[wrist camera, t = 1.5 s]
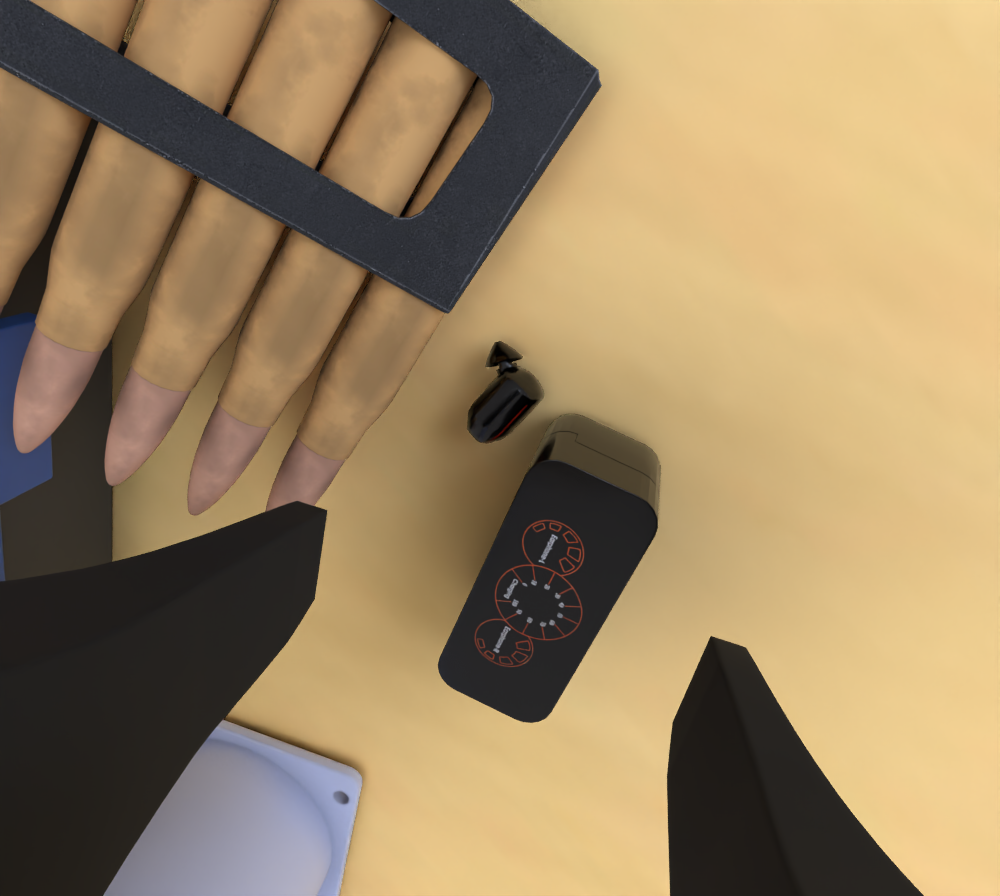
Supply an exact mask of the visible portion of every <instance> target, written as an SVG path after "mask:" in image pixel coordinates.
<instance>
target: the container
mask: <svg viewBox="0 0 1000 896" xmlns="http://www.w3.org/2000/svg"><path fill="white" fill-rule="evenodd" d="M98 123H99V122H98V121H96V120H94V119H92V118H91V121H90V123H89V126H88V128H87V131H86V134H85V136H84V139H83V141H82V144H81V146H80V149H79V151H78V154H77V157H76V159H75V162H74V164H73V167H72V169H71V172H70V174H69V177H68V180H67V182H66V185H65V187H64V190H63V192H62V195H61V197H60V200H59V203H58V205H57V208H56V210H55V213H54V215H53V218H52V220H51V223H50V225H49V227H48V230H47V232H46V234H45V236H44V238H43V239H42V241H41V242H40V244H39V245H38V247H37V248H36V250H35V251H34V253H33V254H32V256H31V257H30V258H29V260H28V261H27V263H26V264H25V266H24V267H23V268H22V270H21V273H20V275H19V277H18V279H17V282H16V284H15V286H14V288H13V291H12V293H11V295H10V297H9V300H8V302H7V303H6V305H4V307H3V309H2V312H1V314H0V581H7V580H16V579H23V578H29V577H35V576H41V575H47V574H53V573H59V572H65V571H71V570H77V569H82V568H87V567H92V566H97V565H101V564H105V563H109V562H112V486H111V485H109V484H108V482H107V480H106V475H105V461H104V459H105V451H106V442H107V437H108V432H109V427H110V422H111V418H112V338H111V340H110V342H109V344H108V346H107V348H105V349H104V350H103V352H102V354H101V356H100V359H99V361H98V363H97V365H96V367H95V369H94V372H93V374H92V376H91V378H90V380H89V382H88V384H87V385H86V387H85V389H84V390H83V392H82V394H81V395H80V397H79V399H78V400H77V402H76V404H75V405H74V407H73V408H72V410H71V411H70V412H69V414H68V415H67V416H66V418H65V419H64V420H63V422H62V423H61V424H60V425H59V426H58V427H57V429H56V430H55V431H54V432H53V433H52V434H51V435H50V437H48V438H47V439H46V440H45V441H44V442H43V443H42V444H40V445H39V446H38V447H36V448H35V449H34V450H32V451H31V452H29V453H21V452H19V450H18V449H17V446H16V443H15V438H14V431H13V412H14V400H15V393H16V387H17V383H18V378H19V374H20V370H21V366H22V362H23V358H24V356H25V353H26V350H27V347H28V345H29V342H30V339H31V337H32V334H33V331H34V329H35V326H36V324H35V320H36V317H37V314H38V311H39V308H40V305H41V302H42V299H43V296H44V293H45V289H46V285H47V277H48V269H49V261H50V254H51V248H52V245H53V242H54V239H55V236H56V233H57V231H58V228H59V225H60V223H61V220H62V217H63V215H64V212H65V210H66V207H67V204H68V202H69V199H70V196H71V194H72V191H73V188H74V186H75V183H76V181H77V178H78V175H79V173H80V170H81V167H82V165H83V162H84V159H85V157H86V154H87V152H88V149H89V146H90V144H91V141H92V138H93V136H94V133H95V130H96V128H97V125H98Z"/></svg>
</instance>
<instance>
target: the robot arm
mask: <svg viewBox="0 0 1000 896" xmlns="http://www.w3.org/2000/svg"><path fill="white" fill-rule="evenodd" d="M326 516H327V510H325V509H321V508H318V507H315V506H312V505H309V504H306V503H303V502H300V501H294V502H291V503H288V504H285V505H282V506H279V507H277V508H274V509H271V510H269V511H266V512H263V513H261V514H258V515H256V516H253V517H250V518H248V519H245V520H243V521H240V522H237V523H234V524H232V525H229V526H226V527H224V528H221V529H218V530H216V531H213V532H210V533H207V534H205V535H202V536H199V537H195V538H192V539H189V540H186V541H183V542H180V543H177V544H174V545H171V546H168V547H164V548H161V549H158V550H155V551H152V552H148V553H145V554H141V555H138V556H134V557H130V558H126V559H122V560H118V561H114V562H109V563H105V564H101V565H97V566H92V567H87V568H82V569H77V570H71V571H65V572H59V573H53V574H47V575H41V576H35V577H29V578H23V579H16V580H7V581H0V896H339V894H340V890H341V885H342V880H343V875H344V870H345V865H346V861H347V856H348V851H349V846H350V841H351V836H352V832H353V827H354V822H355V817H356V812H357V807H358V803H359V798H360V793H361V788H362V777H361V775H360V773H359V772H358V771H357V770H356V769H354V768H352V767H350V766H348V765H345V764H342V763H339V762H337V761H334V760H331V759H329V758H326V757H323V756H320V755H318V754H315V753H312V752H310V751H307V750H304V749H301V748H299V747H296V746H293V745H291V744H288V743H285V742H282V741H280V740H277V739H274V738H272V737H269V736H266V735H264V734H261V733H258V732H255V731H253V730H250V729H247V728H245V727H242V726H239V725H236V724H234V723H231V722H228V721H226V720H223V719H224V718H225V717H226V715H227V714H228V713H229V712H230V711H231V709H232V708H233V707H234V706H235V705H236V704H237V702H238V701H239V700H240V699H241V698H242V696H243V695H244V694H245V693H246V692H247V690H248V689H249V688H250V687H251V686H252V685H253V683H254V682H255V681H256V680H257V679H258V677H259V676H260V675H261V674H262V673H263V671H264V670H265V669H266V668H267V667H268V665H269V664H270V663H271V662H272V661H273V659H274V658H275V657H276V656H277V655H278V653H279V652H280V651H281V650H282V648H283V647H284V646H285V645H286V643H287V642H288V641H289V639H290V638H291V636H292V635H293V633H294V631H295V630H296V628H297V627H298V625H299V624H300V622H301V621H302V619H303V617H304V616H305V614H306V612H307V611H308V609H309V607H310V606H311V604H312V603H313V601H314V599H315V593H316V586H317V579H318V572H319V565H320V558H321V551H322V544H323V537H324V530H325V523H326ZM667 797H668V837H669V872H670V896H924V895H923V894H922V893H921V892H920V891H919V890H918V889H917V888H916V887H915V886H914V885H913V884H912V883H911V882H910V880H909V879H908V878H907V877H906V876H905V875H904V874H903V873H902V872H901V871H900V870H899V868H898V867H897V866H896V865H895V864H894V863H893V862H892V861H891V859H890V858H889V857H888V856H887V855H886V854H885V853H884V851H883V850H882V849H881V848H880V847H879V845H878V844H877V843H876V842H875V840H874V839H873V838H872V837H871V836H870V834H869V833H868V832H867V831H866V829H865V828H864V827H863V826H862V824H861V823H860V822H859V821H858V820H857V818H856V817H855V816H854V815H853V813H852V812H851V811H850V809H849V808H848V807H847V805H846V804H845V803H844V802H843V800H842V799H841V798H840V796H839V795H838V794H837V792H836V791H835V789H834V788H833V786H832V785H831V784H830V782H829V781H828V779H827V778H826V776H825V775H824V774H823V772H822V771H821V769H820V768H819V767H818V765H817V764H816V762H815V761H814V759H813V758H812V756H811V755H810V753H809V752H808V750H807V749H806V747H805V746H804V744H803V743H802V741H801V739H800V738H799V736H798V735H797V733H796V731H795V730H794V728H793V727H792V725H791V723H790V722H789V720H788V719H787V717H786V715H785V714H784V712H783V710H782V709H781V707H780V705H779V704H778V702H777V700H776V698H775V697H774V695H773V693H772V692H771V690H770V688H769V686H768V685H767V683H766V681H765V679H764V678H763V676H762V674H761V672H760V671H759V669H758V667H757V665H756V664H755V662H754V660H753V659H752V657H751V655H750V654H749V652H748V650H747V649H746V647H743V646H740V645H737V644H734V643H731V642H728V641H724V640H721V639H718V638H715V637H712V636H711V637H710V639H709V641H708V644H707V646H706V648H705V650H704V653H703V655H702V657H701V659H700V662H699V664H698V666H697V669H696V671H695V673H694V675H693V678H692V680H691V682H690V684H689V687H688V689H687V691H686V693H685V696H684V698H683V700H682V703H681V705H680V707H679V709H678V712H677V714H676V716H675V718H674V721H673V725H672V734H671V743H670V751H669V762H668V773H667Z"/></svg>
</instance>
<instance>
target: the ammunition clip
mask: <svg viewBox="0 0 1000 896" xmlns="http://www.w3.org/2000/svg"><path fill="white" fill-rule="evenodd" d="M137 1H138V0H0V314H1V312H2V309H3V307H4V305H6V303H7V302H8V300H9V297H10V295H11V293H12V291H13V288H14V286H15V284H16V282H17V279H18V277H19V275H20V273H21V270H22V268H23V267H24V266H25V264H26V263H27V261H28V260H29V258H30V257H31V256H32V254H33V253H34V251H35V250H36V248H37V247H38V245H39V244H40V242H41V241H42V239H43V238H44V236H45V234H46V232H47V230H48V227H49V225H50V223H51V220H52V218H53V215H54V213H55V210H56V208H57V205H58V203H59V200H60V197H61V195H62V192H63V190H64V187H65V185H66V182H67V180H68V177H69V174H70V172H71V169H72V167H73V164H74V162H75V159H76V157H77V154H78V151H79V149H80V146H81V144H82V141H83V139H84V136H85V134H86V131H87V128H88V126H89V123H90V121H91V118H92V119H94V120H96V121H98V122H99V123H98V125H97V128H96V130H95V133H94V136H93V138H92V141H91V144H90V146H89V149H88V152H87V154H86V157H85V159H84V162H83V165H82V167H81V170H80V173H79V175H78V178H77V181H76V183H75V186H74V188H73V191H72V194H71V196H70V199H69V202H68V204H67V207H66V210H65V212H64V215H63V217H62V220H61V223H60V225H59V228H58V231H57V233H56V236H55V239H54V242H53V245H52V248H51V254H50V261H49V269H48V277H47V285H46V289H45V293H44V296H43V299H42V302H41V305H40V308H39V311H38V314H37V317H36V320H35V324H36V326H35V329H34V331H33V334H32V337H31V339H30V342H29V345H28V347H27V350H26V353H25V356H24V358H23V362H22V366H21V370H20V374H19V378H18V383H17V387H16V393H15V400H14V412H13V431H14V438H15V443H16V446H17V449H18V450H19V452H21V453H29V452H31V451H32V450H34V449H35V448H36V447H38V446H39V445H40V444H42V443H43V442H44V441H45V440H46V439H47V438H48V437H50V435H51V434H52V433H53V432H54V431H55V430H56V429H57V427H58V426H59V425H60V424H61V423H62V422H63V420H64V419H65V418H66V416H67V415H68V414H69V412H70V411H71V410H72V408H73V407H74V405H75V404H76V402H77V400H78V399H79V397H80V395H81V394H82V392H83V390H84V389H85V387H86V385H87V384H88V382H89V380H90V378H91V376H92V374H93V372H94V369H95V367H96V365H97V363H98V361H99V359H100V356H101V354H102V352H103V350H104V349H105V348H107V346H108V344H109V342H110V340H111V338H112V336H113V334H114V332H115V330H116V328H117V326H118V324H119V322H120V320H121V318H122V316H123V315H124V313H125V312H126V311H127V309H128V308H129V307H130V306H131V304H132V303H133V302H134V300H135V299H136V298H137V296H138V295H139V294H140V292H141V291H142V289H143V288H144V286H145V284H146V282H147V280H148V279H149V277H150V274H151V272H152V270H153V268H154V265H155V263H156V261H157V259H158V257H159V254H160V252H161V250H162V248H163V245H164V243H165V241H166V239H167V237H168V234H169V232H170V230H171V228H172V225H173V223H174V221H175V219H176V217H177V214H178V212H179V210H180V208H181V205H182V203H183V201H184V199H185V196H186V194H187V192H188V190H189V188H190V185H191V183H192V181H193V179H194V176H195V175H196V176H197V177H199V178H200V179H199V182H198V184H197V186H196V189H195V191H194V193H193V195H192V198H191V200H190V202H189V205H188V207H187V209H186V211H185V214H184V216H183V218H182V221H181V223H180V225H179V227H178V230H177V232H176V234H175V237H174V239H173V241H172V243H171V246H170V248H169V250H168V253H167V255H166V257H165V260H164V262H163V264H162V266H161V269H160V271H159V273H158V276H157V278H156V280H155V283H154V285H153V288H152V291H151V296H150V300H149V305H148V310H147V316H146V321H145V326H144V329H143V331H142V334H141V337H140V339H139V342H138V344H137V347H136V350H135V352H134V355H133V357H132V361H131V367H130V369H129V371H128V374H127V376H126V378H125V381H124V383H123V385H122V388H121V390H120V393H119V395H118V399H117V402H116V405H115V408H114V412H113V415H112V418H111V422H110V427H109V432H108V437H107V442H106V451H105V459H104V461H105V475H106V480H107V482H108V484H109V485H111V486H115V485H118V484H120V483H122V482H123V481H124V480H126V479H127V478H129V477H130V476H131V475H132V474H133V473H134V472H135V471H136V470H138V469H139V467H140V466H141V465H142V464H143V463H144V462H145V461H146V460H147V459H148V458H149V457H150V455H151V454H152V453H153V452H154V450H155V449H156V448H157V447H158V445H159V444H160V443H161V441H162V440H163V438H164V437H165V435H166V434H167V432H168V431H169V429H170V428H171V426H172V425H173V423H174V422H175V420H176V418H177V417H178V415H179V413H180V411H181V409H182V407H183V405H184V403H185V401H186V400H187V398H188V396H189V394H190V392H191V390H192V389H193V388H194V387H195V386H196V384H197V382H198V380H199V378H200V377H201V375H202V373H203V371H204V369H205V368H206V366H207V364H208V362H209V360H210V359H211V357H212V356H213V355H214V353H215V352H216V351H217V350H218V348H219V347H220V346H221V345H222V343H223V342H224V341H225V340H226V339H227V337H228V336H229V335H230V333H231V332H232V331H233V329H234V328H235V326H236V324H237V322H238V321H239V319H240V317H241V315H242V313H243V311H244V309H245V307H246V305H247V303H248V301H249V299H250V297H251V295H252V293H253V291H254V289H255V287H256V285H257V283H258V281H259V279H260V277H261V275H262V273H263V271H264V269H265V267H266V265H267V263H268V261H269V259H270V257H271V255H272V253H273V251H274V249H275V247H276V245H277V243H278V241H279V239H280V237H281V235H282V233H283V231H284V229H285V227H286V226H288V227H290V228H291V229H290V231H289V233H288V235H287V237H286V239H285V241H284V243H283V245H282V247H281V249H280V251H279V253H278V255H277V257H276V260H275V262H274V264H273V266H272V268H271V270H270V272H269V274H268V276H267V278H266V280H265V282H264V284H263V286H262V288H261V290H260V292H259V294H258V296H257V298H256V300H255V302H254V304H253V306H252V308H251V310H250V312H249V314H248V316H247V319H246V321H245V323H244V325H243V327H242V330H241V332H240V335H239V339H238V342H237V346H236V350H235V354H234V358H233V362H232V366H231V369H230V371H229V373H228V376H227V378H226V380H225V382H224V385H223V387H222V389H221V391H220V394H219V396H218V402H217V404H216V406H215V408H214V410H213V412H212V414H211V416H210V418H209V420H208V422H207V425H206V427H205V429H204V432H203V434H202V437H201V440H200V443H199V445H198V448H197V451H196V454H195V458H194V461H193V465H192V469H191V474H190V480H189V486H188V499H187V500H188V511H189V513H190V514H191V515H199V514H200V513H202V512H204V511H205V510H207V509H208V508H210V507H211V506H212V505H213V504H214V503H216V502H217V501H218V500H219V499H220V498H221V497H222V496H223V495H224V494H225V493H226V492H227V491H228V489H229V488H230V487H231V486H232V485H233V484H234V483H235V481H236V480H237V479H238V478H239V476H240V475H241V474H242V472H243V471H244V470H245V468H246V467H247V465H248V464H249V462H250V461H251V460H252V458H253V457H254V455H255V454H256V452H257V451H258V449H259V447H260V446H261V444H262V442H263V440H264V439H265V437H266V435H267V433H268V432H269V430H270V428H271V426H273V425H274V424H275V422H276V420H277V419H278V417H279V416H280V414H281V412H282V411H283V409H284V407H285V406H286V404H287V402H288V401H289V399H290V397H291V396H292V395H293V394H294V393H295V391H296V390H297V389H298V388H299V387H300V386H301V384H302V383H303V382H304V381H305V380H306V379H307V377H308V376H309V375H310V374H311V372H312V371H313V370H314V368H315V366H316V365H317V363H318V362H319V360H320V358H321V357H322V355H323V353H324V351H325V349H326V348H327V346H328V344H329V342H330V340H331V338H332V337H333V335H334V333H335V331H336V329H337V328H338V326H339V324H340V322H341V320H342V319H343V317H344V315H345V313H346V311H347V310H348V308H349V306H350V304H351V302H352V301H353V299H354V297H355V295H356V293H357V292H358V290H359V288H360V286H361V284H362V283H363V281H364V279H365V277H366V275H367V274H368V272H371V273H373V274H372V276H371V278H370V280H369V282H368V284H367V285H366V287H365V289H364V291H363V293H362V295H361V297H360V298H359V300H358V302H357V304H356V306H355V308H354V309H353V311H352V313H351V315H350V317H349V319H348V320H347V322H346V324H345V326H344V328H343V330H342V332H341V333H340V335H339V337H338V339H337V341H336V343H335V344H334V346H333V348H332V350H331V352H330V354H329V355H328V357H327V359H326V361H325V363H324V365H323V367H322V369H321V371H320V374H319V377H318V380H317V384H316V387H315V390H314V394H313V397H312V401H311V403H310V405H309V407H308V409H307V412H306V414H305V416H304V418H303V420H302V422H301V424H300V426H299V428H298V430H297V435H296V437H295V439H294V440H293V442H292V444H291V446H290V448H289V450H288V452H287V454H286V455H285V457H284V459H283V461H282V464H281V466H280V468H279V471H278V473H277V476H276V478H275V481H274V483H273V486H272V489H271V492H270V495H269V498H268V502H267V506H266V511H269V510H271V509H274V508H277V507H279V506H282V505H285V504H288V503H291V502H294V501H300V502H303V503H306V504H309V505H312V506H314V505H315V504H316V502H317V501H318V500H319V499H320V497H321V496H322V495H323V493H324V492H325V491H326V489H327V488H328V487H329V485H330V484H331V482H332V481H333V479H334V477H335V476H336V474H337V472H338V471H339V469H340V468H341V466H342V464H343V463H344V461H345V459H347V458H348V457H349V456H350V454H351V453H352V451H353V450H354V448H355V447H356V445H357V444H358V442H359V441H360V439H361V438H362V436H363V435H364V433H365V432H366V431H367V429H368V428H369V427H370V426H371V425H372V424H373V423H374V422H375V421H376V420H377V419H378V418H379V416H380V415H381V414H382V413H383V412H384V411H385V410H386V409H387V407H388V406H389V404H390V403H391V401H392V400H393V398H394V397H395V395H396V393H397V392H398V390H399V388H400V387H401V385H402V383H403V382H404V380H405V378H406V377H407V375H408V373H409V372H410V370H411V368H412V367H413V365H414V364H415V362H416V360H417V359H418V357H419V355H420V354H421V352H422V350H423V349H424V347H425V345H426V344H427V342H428V340H429V339H430V337H431V335H432V334H433V332H434V330H435V329H436V327H437V325H438V324H439V322H440V321H441V319H442V317H443V316H444V314H445V313H449V312H450V311H451V310H452V308H453V307H454V305H455V304H456V302H457V301H458V299H459V298H460V296H461V295H462V293H463V292H464V290H465V289H466V287H467V286H468V284H469V283H470V281H471V280H472V278H473V277H474V275H475V274H476V272H477V271H478V269H479V268H480V266H481V265H482V264H483V262H484V261H485V259H486V258H487V256H488V255H489V253H490V252H491V250H492V249H493V247H494V246H495V244H496V243H497V241H498V240H499V238H500V237H501V235H502V234H503V232H504V231H505V229H506V228H507V226H508V225H509V223H510V222H511V220H512V219H513V217H514V216H515V214H516V213H517V211H518V210H519V208H520V207H521V205H522V204H523V202H524V201H525V199H526V198H527V196H528V195H529V193H530V192H531V190H532V189H533V187H534V186H535V184H536V183H537V181H538V180H539V178H540V177H541V175H542V174H543V172H544V171H545V169H546V168H547V166H548V165H549V163H550V162H551V160H552V159H553V157H554V156H555V154H556V153H557V151H558V150H559V148H560V147H561V145H562V144H563V142H564V141H565V139H566V138H567V137H568V135H569V134H570V132H571V131H572V129H573V128H574V126H575V125H576V123H577V122H578V120H579V119H580V117H581V116H582V114H583V113H584V111H585V110H586V108H587V107H588V105H589V104H590V102H591V101H592V99H593V98H594V96H595V95H596V93H597V92H598V90H599V89H600V87H601V86H602V85H601V83H600V80H599V71H598V69H596V68H595V67H594V66H593V65H591V64H590V63H589V62H587V61H586V60H585V59H584V58H582V57H581V56H580V55H579V54H577V53H576V52H575V51H573V50H572V49H571V48H570V47H568V46H567V45H566V44H565V43H563V42H562V41H561V40H559V39H558V38H557V37H556V36H554V35H553V34H552V33H551V32H549V31H548V30H547V29H545V28H544V27H543V26H542V25H540V24H539V23H538V22H537V21H535V20H534V19H533V18H531V17H530V16H529V15H528V14H526V13H525V12H524V11H523V10H521V9H520V8H519V7H517V6H516V5H515V4H514V3H512V2H511V1H510V0H278V1H277V3H276V6H275V8H274V10H273V12H272V15H271V17H270V19H269V22H268V24H267V26H266V28H265V31H264V33H263V35H262V38H261V40H260V42H259V44H258V47H257V49H256V51H255V54H254V56H253V58H252V61H251V63H250V65H249V67H248V70H247V72H246V74H245V77H244V79H243V81H242V83H241V86H240V88H239V90H238V93H237V95H236V97H235V99H234V102H233V104H232V106H230V105H228V104H227V103H228V101H229V99H230V96H231V94H232V92H233V90H234V87H235V85H236V83H237V81H238V79H239V76H240V74H241V72H242V70H243V67H244V65H245V63H246V61H247V59H248V56H249V54H250V52H251V50H252V47H253V45H254V43H255V41H256V39H257V36H258V34H259V32H260V30H261V27H262V25H263V23H264V21H265V19H266V16H267V14H268V12H269V10H270V7H271V5H272V3H273V1H274V0H145V1H144V4H143V7H142V9H141V12H140V15H139V17H138V20H137V22H136V25H135V28H134V30H133V33H132V36H131V38H130V41H129V44H127V43H126V42H124V41H122V39H123V36H124V34H125V31H126V29H127V26H128V24H129V21H130V18H131V16H132V13H133V11H134V8H135V6H136V3H137ZM389 21H390V22H391V25H390V28H389V30H388V32H387V34H386V36H385V38H384V40H383V42H382V44H381V46H380V48H379V50H378V52H377V54H376V56H375V58H374V60H373V62H372V64H371V66H370V68H369V70H368V72H367V74H366V76H365V78H364V80H363V82H362V84H361V87H360V89H359V91H358V93H357V95H356V97H355V99H354V101H353V103H352V105H351V107H350V109H349V111H348V113H347V115H346V117H345V119H344V121H343V123H342V125H341V127H340V129H339V131H338V133H337V135H336V137H335V139H334V141H333V144H332V146H331V148H330V150H329V152H328V154H327V156H326V158H325V160H324V162H323V161H321V160H320V158H321V156H322V154H323V152H324V150H325V148H326V146H327V144H328V142H329V140H330V138H331V136H332V134H333V132H334V130H335V128H336V126H337V124H338V122H339V120H340V118H341V116H342V114H343V112H344V110H345V108H346V106H347V104H348V102H349V100H350V98H351V96H352V94H353V92H354V90H355V88H356V86H357V84H358V82H359V80H360V78H361V76H362V74H363V72H364V71H365V69H366V67H367V65H368V63H369V61H370V59H371V57H372V55H373V53H374V51H375V49H376V47H377V45H378V43H379V41H380V39H381V37H382V35H383V33H384V31H385V29H386V27H387V25H388V23H389ZM472 85H473V90H472V92H471V94H470V96H469V98H468V99H467V101H466V103H465V105H464V107H463V109H462V110H461V112H460V114H459V116H458V118H457V120H456V121H455V123H454V125H453V127H452V129H451V131H450V133H449V134H448V136H447V138H446V140H445V142H444V144H443V145H442V147H441V149H440V151H439V153H438V155H437V156H436V158H435V160H434V162H433V164H432V166H431V168H430V169H429V171H428V173H427V175H426V177H425V179H424V180H423V182H422V184H421V186H420V188H419V190H418V191H417V192H416V193H415V194H414V195H413V197H410V196H411V194H412V193H413V191H414V189H415V187H416V185H417V184H418V182H419V180H420V178H421V176H422V175H423V173H424V171H425V169H426V167H427V166H428V164H429V162H430V160H431V158H432V157H433V155H434V153H435V151H436V149H437V148H438V146H439V144H440V142H441V140H442V139H443V137H444V135H445V133H446V131H447V130H448V128H449V126H450V124H451V122H452V121H453V119H454V117H455V115H456V113H457V112H458V110H459V108H460V106H461V104H462V103H463V101H464V99H465V97H466V95H467V94H468V92H469V90H470V88H471V86H472ZM266 511H265V512H266Z"/></svg>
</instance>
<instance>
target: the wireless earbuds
mask: <svg viewBox="0 0 1000 896" xmlns="http://www.w3.org/2000/svg"><path fill="white" fill-rule="evenodd" d="M522 358H523V356H522V355H521V354H520V353H518V352H517V351H516V350H514V349H513V348H511V347H510V346H508V345H507V344H505V343H503V342H502V341H498V342H495V343H494V345H493V347H492V349H491V351H490V353H489V356H488V358H487V362H486V366H485V367H493V366H499V368H500V369H498V370H496V371H497V373H498V376H497V377H496V378H495V380H494V381H493V382H492V383H491V384H490V385H489V386H488V387H487V388H486V389H485V390H484V392H483V393H482V394H481V395H480V396H479V397H478V398H477V399H476V400H475V401H474V403H473V404H472V406H471V408H470V409H469V412H468V421H467V430H468V431H469V433H470V434H471V435H472V436H473V437H474V438H475V439H476V440H477V441H478V442H481V443H485V444H488V443H492V442H495V441H499V440H501V439H504V438H505V437H506V436H508V435H509V434H510V433H511V432H513V430H514V429H515V428H516V427H517V426H518V425H519V424H520V423H521V422H522V421H523V420H524V419H525V418H526V417H527V416H528V415H529V413H530V412H531V411H532V410H533V409H534V408H535V407H536V406H537V405H538V404H539V403H540V402H541V401H542V400H543V398H544V391H543V389H542V386H541V384H540V383H539V381H538V380H537V379H536V377H535V376H534V375H533V374H532V373H530V372H529V371H527V370H525V369H523V368H521V367H520V366H517V364H516V363H512V362H513V361H517V360H520V359H522ZM660 478H661V465H660V463H659V460H658V457H657V455H656V454H655V453H654V451H653V450H652V449H651V448H649V447H648V446H646V445H645V444H643V443H640V442H638V441H636V440H634V439H632V438H630V437H628V436H625V435H623V434H621V433H619V432H617V431H615V430H612V429H610V428H608V427H606V426H604V425H602V424H600V423H597V422H595V421H593V420H591V419H589V418H587V417H584V416H581V415H578V414H566V415H563V416H560V417H559V418H557V419H556V420H554V421H553V422H552V423H551V424H550V426H549V427H548V429H547V430H546V432H545V434H544V436H543V439H542V441H541V443H540V445H539V447H538V449H537V451H536V453H535V455H534V458H533V460H532V462H531V464H530V466H529V468H528V470H527V472H526V474H525V477H524V479H523V481H522V483H521V485H520V487H519V489H518V491H517V494H516V496H515V498H514V500H513V502H512V504H511V506H510V509H509V511H508V513H507V515H506V517H505V519H504V521H503V524H502V526H501V528H500V530H499V532H498V534H497V536H496V538H495V541H494V543H493V545H492V547H491V549H490V551H489V553H488V556H487V558H486V560H485V562H484V564H483V566H482V568H481V570H480V573H479V575H478V577H477V579H476V581H475V583H474V585H473V588H472V590H471V592H470V594H469V596H468V598H467V600H466V602H465V605H464V607H463V609H462V611H461V613H460V615H459V617H458V620H457V622H456V624H455V626H454V628H453V630H452V632H451V635H450V637H449V639H448V641H447V643H446V645H445V647H444V649H443V652H442V654H441V656H440V658H439V662H438V669H439V673H440V675H441V677H442V679H443V680H444V681H445V682H446V684H447V685H448V686H450V687H452V688H453V689H455V690H457V691H459V692H461V693H463V694H465V695H467V696H469V697H471V698H473V699H475V700H477V701H479V702H481V703H483V704H485V705H487V706H489V707H491V708H493V709H495V710H497V711H499V712H501V713H504V714H506V715H508V716H510V717H512V718H514V719H516V720H519V721H522V722H529V723H533V722H539V721H541V720H543V719H545V718H547V716H548V715H549V714H550V713H551V712H552V710H553V708H554V707H555V705H556V703H557V702H558V700H559V698H560V697H561V695H562V693H563V691H564V690H565V688H566V686H567V685H568V683H569V681H570V680H571V678H572V676H573V674H574V673H575V671H576V669H577V668H578V666H579V664H580V663H581V661H582V659H583V657H584V656H585V654H586V652H587V651H588V649H589V647H590V646H591V644H592V642H593V640H594V639H595V637H596V635H597V634H598V632H599V630H600V629H601V627H602V625H603V623H604V622H605V620H606V618H607V617H608V615H609V613H610V612H611V610H612V608H613V606H614V605H615V603H616V601H617V600H618V598H619V596H620V595H621V593H622V591H623V589H624V588H625V586H626V584H627V583H628V581H629V579H630V578H631V576H632V574H633V572H634V571H635V569H636V567H637V566H638V564H639V562H640V561H641V559H642V557H643V555H644V554H645V552H646V550H647V549H648V547H649V545H650V544H651V542H652V540H653V538H654V537H655V534H656V532H657V529H658V516H659V497H660Z"/></svg>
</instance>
